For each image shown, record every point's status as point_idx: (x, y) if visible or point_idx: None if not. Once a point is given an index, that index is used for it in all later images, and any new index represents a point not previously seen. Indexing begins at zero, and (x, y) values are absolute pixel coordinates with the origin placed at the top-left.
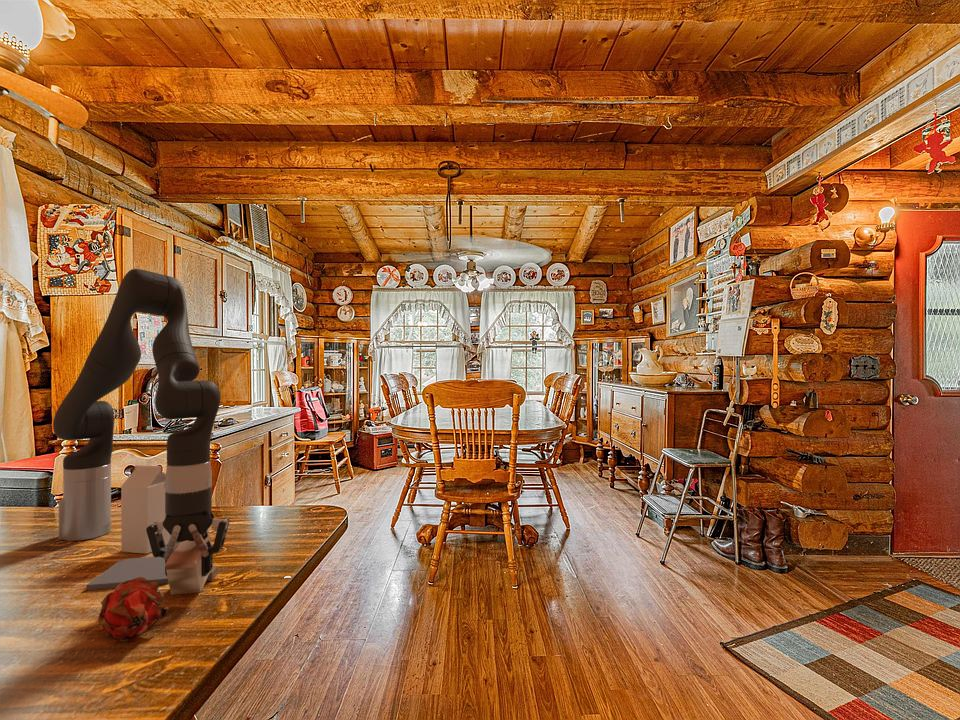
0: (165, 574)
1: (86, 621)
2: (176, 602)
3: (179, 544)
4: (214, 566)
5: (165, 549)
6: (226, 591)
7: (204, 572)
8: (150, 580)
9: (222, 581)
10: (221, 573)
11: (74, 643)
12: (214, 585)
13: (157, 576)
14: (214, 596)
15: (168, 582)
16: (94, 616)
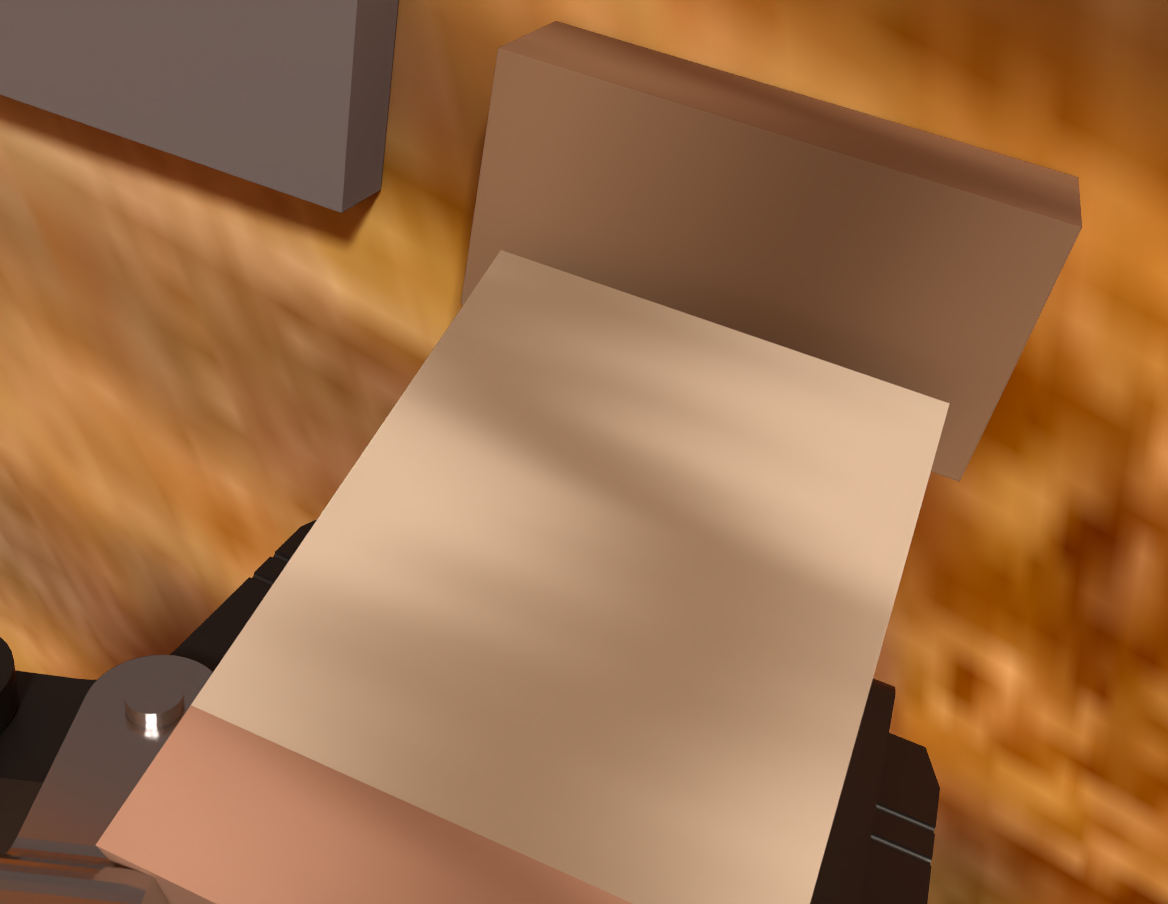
0: (252, 22)
1: (15, 636)
2: None
3: (175, 896)
4: (1012, 235)
5: (15, 824)
6: (1119, 819)
7: None
8: (136, 140)
9: (1113, 514)
10: (1144, 178)
11: None
12: (987, 578)
13: (169, 45)
14: (967, 845)
15: (374, 186)
16: (23, 588)
